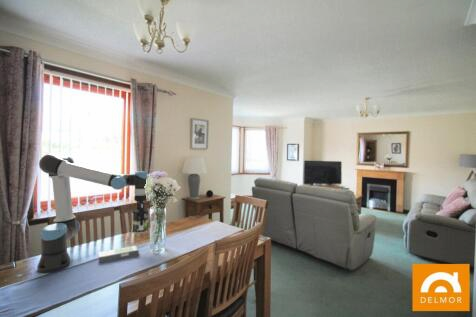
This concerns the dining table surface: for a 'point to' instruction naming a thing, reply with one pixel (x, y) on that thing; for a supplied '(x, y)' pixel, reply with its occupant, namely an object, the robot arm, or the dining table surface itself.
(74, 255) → the dining table surface
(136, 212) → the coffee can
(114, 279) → the dining table surface
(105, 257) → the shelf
